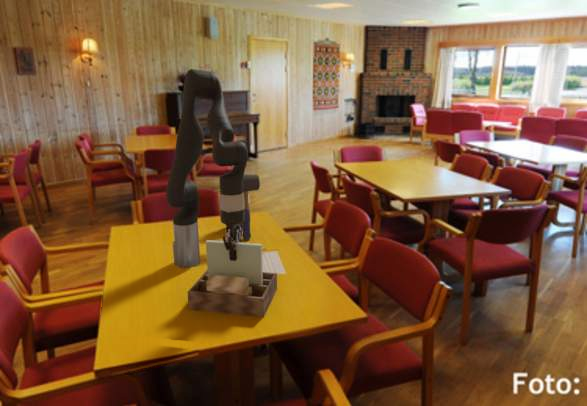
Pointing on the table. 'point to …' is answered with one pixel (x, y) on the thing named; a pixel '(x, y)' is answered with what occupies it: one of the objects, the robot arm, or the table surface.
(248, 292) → the offcut middle
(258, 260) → the tall sheet
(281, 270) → the baseboard molding
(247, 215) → the rubber mallet
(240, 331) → the table surface
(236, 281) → the offcut top
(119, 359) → the table surface
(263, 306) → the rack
